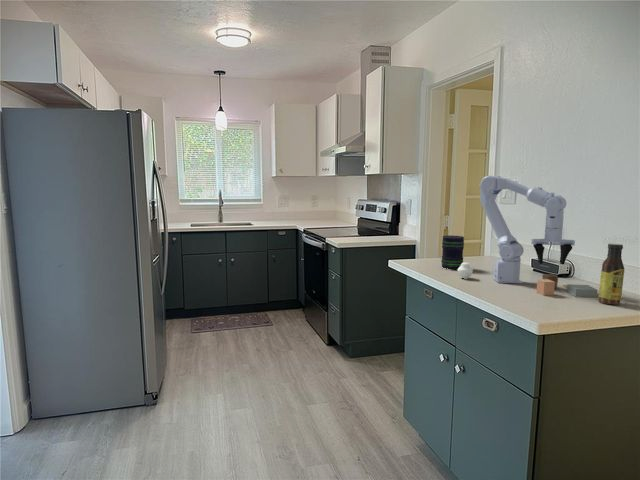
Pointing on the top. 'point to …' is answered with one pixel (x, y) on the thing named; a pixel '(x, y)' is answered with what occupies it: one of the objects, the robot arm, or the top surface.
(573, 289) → the pedestal block
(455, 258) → the storage jar
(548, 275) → the walnut block
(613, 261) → the sauce bottle
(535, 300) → the top surface
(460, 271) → the white rounded piece
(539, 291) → the terracotta block
